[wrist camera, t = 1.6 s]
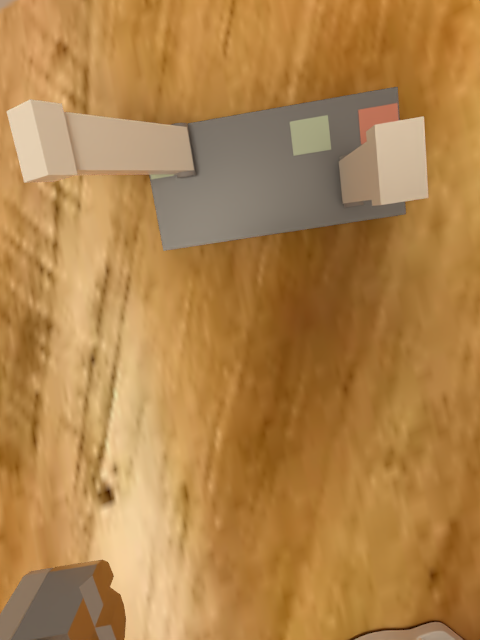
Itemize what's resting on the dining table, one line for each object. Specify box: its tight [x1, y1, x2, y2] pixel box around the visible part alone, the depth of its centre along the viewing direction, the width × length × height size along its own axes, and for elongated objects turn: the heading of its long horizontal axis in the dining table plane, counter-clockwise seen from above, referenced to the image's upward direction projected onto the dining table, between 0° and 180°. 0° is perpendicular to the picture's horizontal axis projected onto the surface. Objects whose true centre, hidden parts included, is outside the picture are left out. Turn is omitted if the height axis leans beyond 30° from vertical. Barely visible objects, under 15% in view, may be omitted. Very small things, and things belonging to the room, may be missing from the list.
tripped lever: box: [339, 116, 428, 208], centre depth 27 cm, size 4×2×13 cm, turn 8°
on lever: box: [7, 99, 196, 182], centre depth 28 cm, size 4×2×13 cm
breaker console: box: [149, 87, 406, 251], centre depth 35 cm, size 9×19×3 cm, turn 99°
